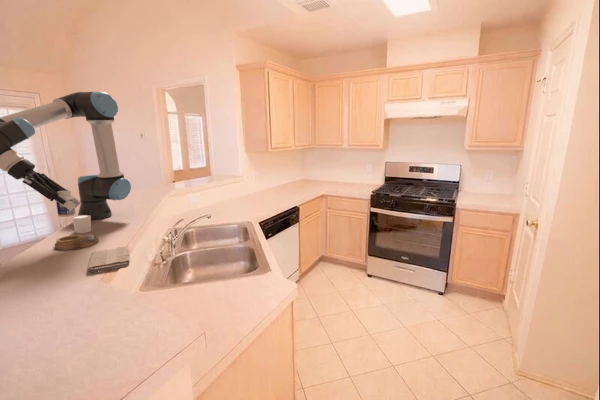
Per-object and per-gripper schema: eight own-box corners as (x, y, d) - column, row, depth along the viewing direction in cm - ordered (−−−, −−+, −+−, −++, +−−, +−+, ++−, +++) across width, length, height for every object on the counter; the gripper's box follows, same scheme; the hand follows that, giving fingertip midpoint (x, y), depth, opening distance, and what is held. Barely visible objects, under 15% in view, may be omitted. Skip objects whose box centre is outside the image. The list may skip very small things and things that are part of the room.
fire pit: (94, 236, 125) (93, 229, 125) (102, 244, 116) (101, 236, 115) (52, 243, 115) (51, 236, 115) (57, 253, 106) (56, 244, 105)
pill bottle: (60, 214, 114) (57, 190, 112) (76, 213, 117) (74, 189, 115) (56, 217, 109) (53, 192, 108) (73, 216, 112) (70, 191, 110)
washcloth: (87, 276, 89) (86, 267, 89) (90, 257, 104) (89, 249, 103) (131, 268, 96) (130, 259, 95) (128, 251, 110) (128, 243, 110)
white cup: (82, 234, 128) (80, 218, 127) (69, 232, 129) (67, 217, 128) (96, 229, 134) (94, 215, 133) (83, 228, 136) (82, 214, 134)
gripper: (19, 170, 112) (76, 208, 122) (-8, 175, 95) (60, 219, 105) (35, 157, 113) (89, 195, 123) (11, 159, 97) (76, 204, 106)
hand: (76, 206), depth 114 cm, fingers closed on pill bottle, 5 cm apart
